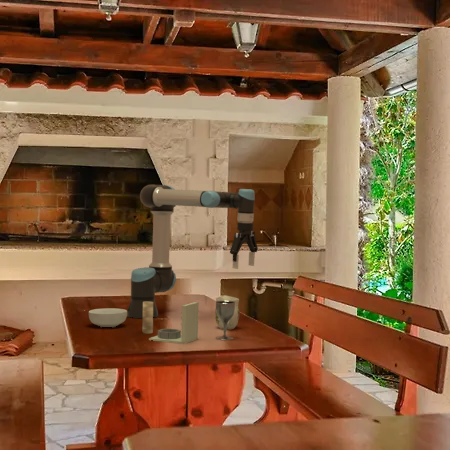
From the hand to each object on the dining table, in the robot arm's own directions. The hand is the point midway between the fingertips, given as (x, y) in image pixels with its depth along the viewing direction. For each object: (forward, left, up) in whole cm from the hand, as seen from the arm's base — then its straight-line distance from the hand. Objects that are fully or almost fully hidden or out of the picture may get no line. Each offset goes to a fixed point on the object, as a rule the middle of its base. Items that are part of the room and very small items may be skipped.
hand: (243, 267), depth 326 cm
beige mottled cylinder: (-26, -45, -26) cm, 58 cm away
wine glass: (+8, -41, -26) cm, 50 cm away
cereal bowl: (-49, -40, -27) cm, 68 cm away
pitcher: (0, -19, -26) cm, 33 cm away
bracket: (-9, -54, -26) cm, 61 cm away
